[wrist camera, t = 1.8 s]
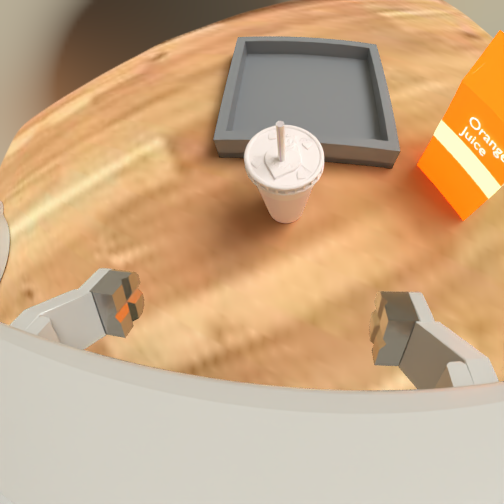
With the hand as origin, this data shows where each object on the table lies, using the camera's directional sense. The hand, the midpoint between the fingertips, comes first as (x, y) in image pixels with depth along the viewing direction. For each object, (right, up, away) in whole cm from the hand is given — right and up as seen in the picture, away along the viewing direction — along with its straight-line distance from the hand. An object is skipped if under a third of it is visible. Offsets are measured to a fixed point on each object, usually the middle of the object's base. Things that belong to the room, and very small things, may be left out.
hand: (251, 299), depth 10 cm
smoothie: (+4, +6, +23) cm, 24 cm away
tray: (+7, +21, +27) cm, 35 cm away
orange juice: (+25, +10, +22) cm, 35 cm away
